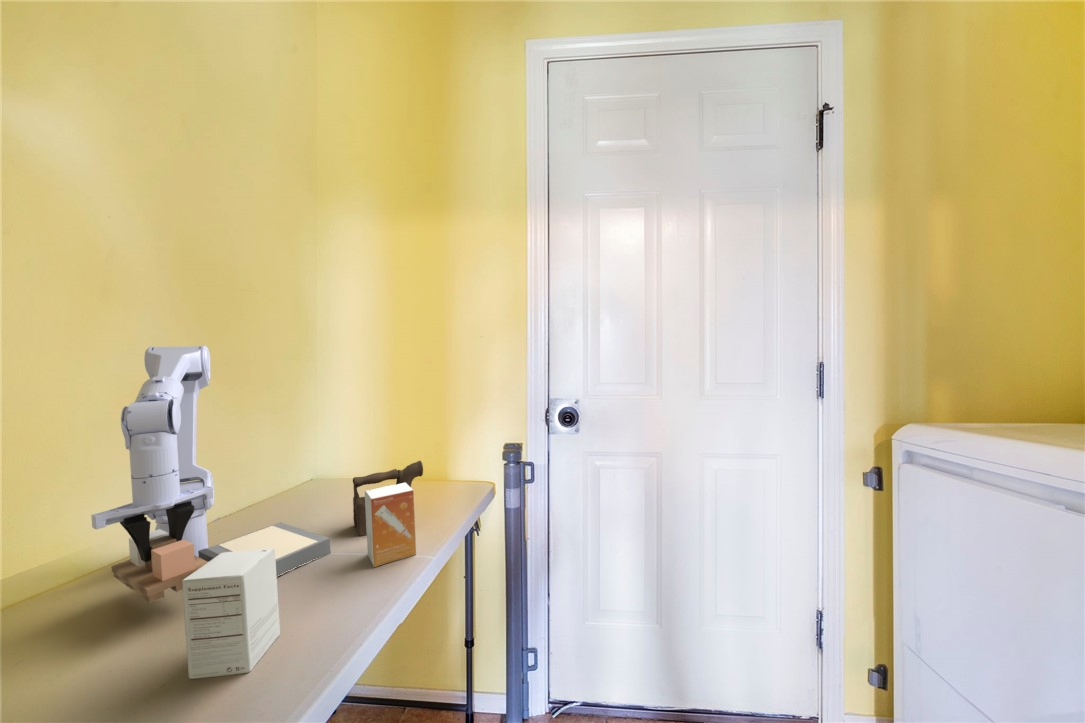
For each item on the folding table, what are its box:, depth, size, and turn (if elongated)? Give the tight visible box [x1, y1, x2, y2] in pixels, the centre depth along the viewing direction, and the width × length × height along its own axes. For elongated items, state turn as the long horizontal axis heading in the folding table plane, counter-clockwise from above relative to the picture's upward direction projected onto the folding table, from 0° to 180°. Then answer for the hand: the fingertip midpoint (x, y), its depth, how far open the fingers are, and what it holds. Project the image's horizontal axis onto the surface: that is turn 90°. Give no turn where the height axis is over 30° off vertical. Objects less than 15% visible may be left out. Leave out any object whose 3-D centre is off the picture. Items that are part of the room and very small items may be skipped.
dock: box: [198, 522, 331, 576], centre depth 80 cm, size 19×15×3 cm
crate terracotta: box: [151, 540, 195, 581], centre depth 64 cm, size 4×4×4 cm
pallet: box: [110, 535, 208, 603], centre depth 67 cm, size 17×8×6 cm, turn 59°
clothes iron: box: [352, 460, 424, 537], centre depth 96 cm, size 8×16×13 cm, turn 121°
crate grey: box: [128, 529, 169, 567], centre depth 70 cm, size 4×4×4 cm
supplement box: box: [182, 548, 281, 680], centre depth 54 cm, size 7×7×13 cm
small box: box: [364, 483, 417, 568], centre depth 80 cm, size 8×6×13 cm
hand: (160, 554), depth 67 cm, fingers closed on pallet, 3 cm apart
